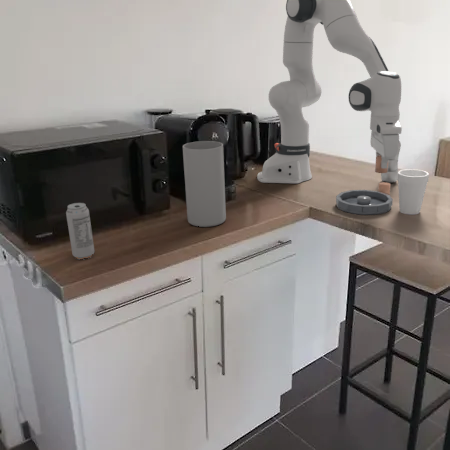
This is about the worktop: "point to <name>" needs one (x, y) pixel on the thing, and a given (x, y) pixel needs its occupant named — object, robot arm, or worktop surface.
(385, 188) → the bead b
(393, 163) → the plastic bottle
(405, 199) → the foam cup
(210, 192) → the cylinder vase
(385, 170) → the peach egg shape
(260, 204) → the worktop surface
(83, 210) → the energy drink can
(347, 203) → the tray
